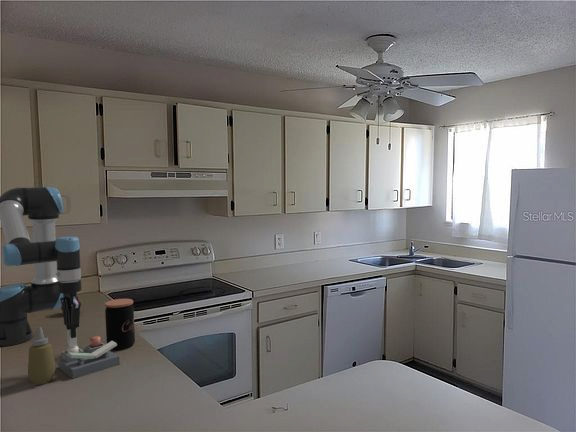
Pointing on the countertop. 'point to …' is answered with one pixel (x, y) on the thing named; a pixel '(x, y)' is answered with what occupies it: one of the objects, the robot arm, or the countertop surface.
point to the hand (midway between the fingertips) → (72, 345)
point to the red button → (95, 341)
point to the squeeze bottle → (41, 360)
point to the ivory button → (73, 349)
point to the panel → (87, 362)
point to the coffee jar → (120, 323)
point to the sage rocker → (81, 355)
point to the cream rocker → (104, 349)
